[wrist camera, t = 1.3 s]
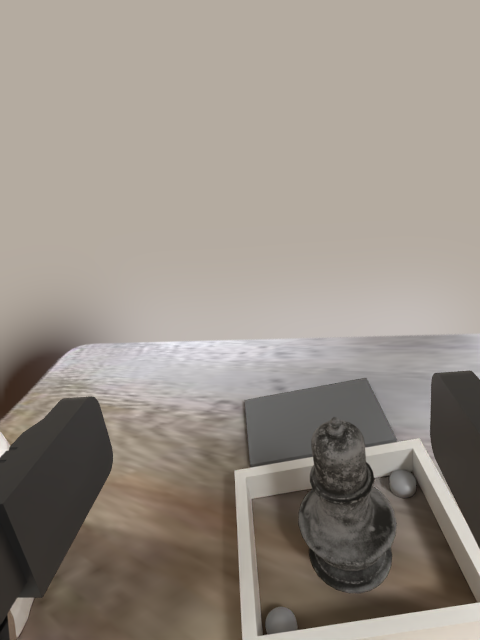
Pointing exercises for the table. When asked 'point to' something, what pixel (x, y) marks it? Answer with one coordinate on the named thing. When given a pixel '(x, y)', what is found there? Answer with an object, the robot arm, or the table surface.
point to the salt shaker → (346, 512)
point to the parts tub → (397, 461)
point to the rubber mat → (311, 420)
